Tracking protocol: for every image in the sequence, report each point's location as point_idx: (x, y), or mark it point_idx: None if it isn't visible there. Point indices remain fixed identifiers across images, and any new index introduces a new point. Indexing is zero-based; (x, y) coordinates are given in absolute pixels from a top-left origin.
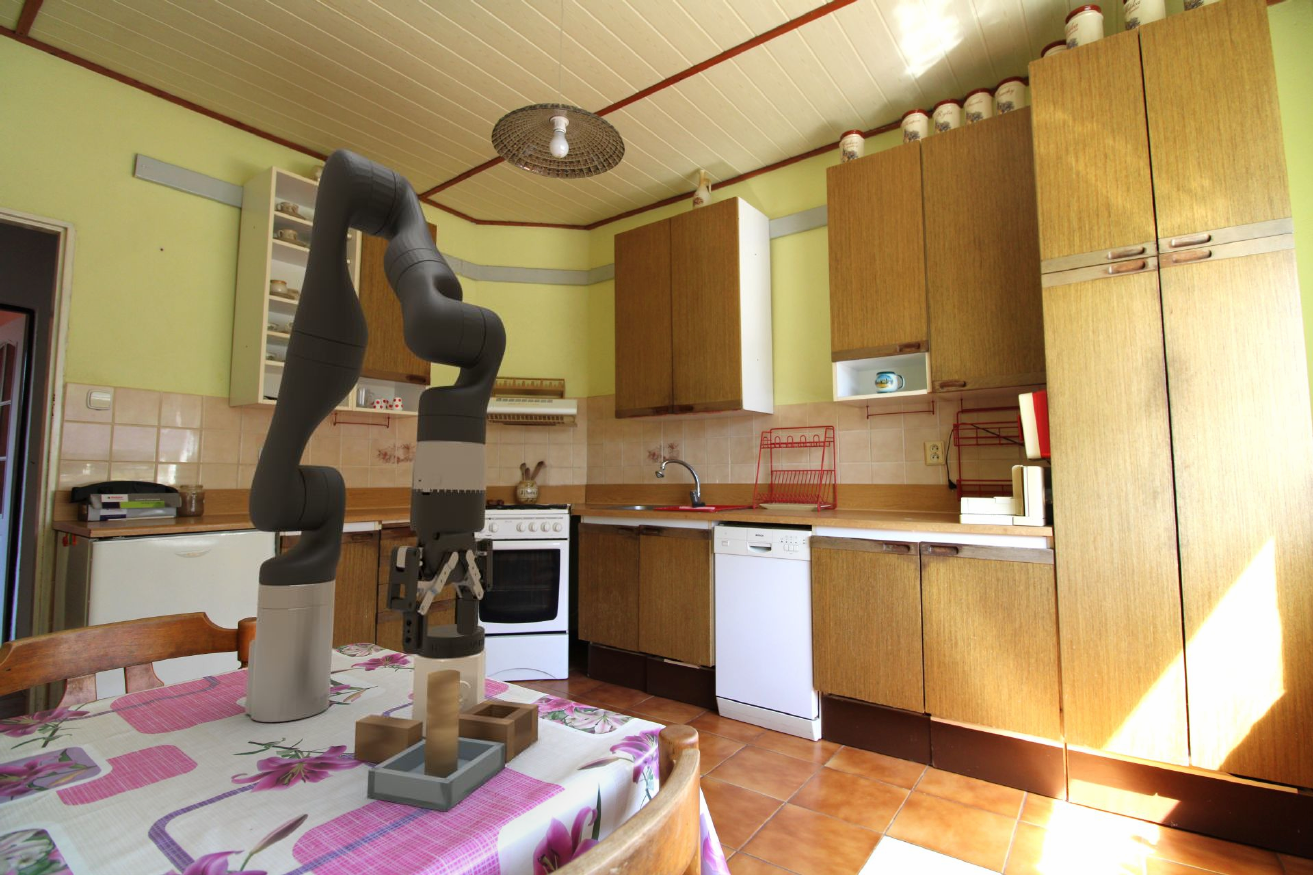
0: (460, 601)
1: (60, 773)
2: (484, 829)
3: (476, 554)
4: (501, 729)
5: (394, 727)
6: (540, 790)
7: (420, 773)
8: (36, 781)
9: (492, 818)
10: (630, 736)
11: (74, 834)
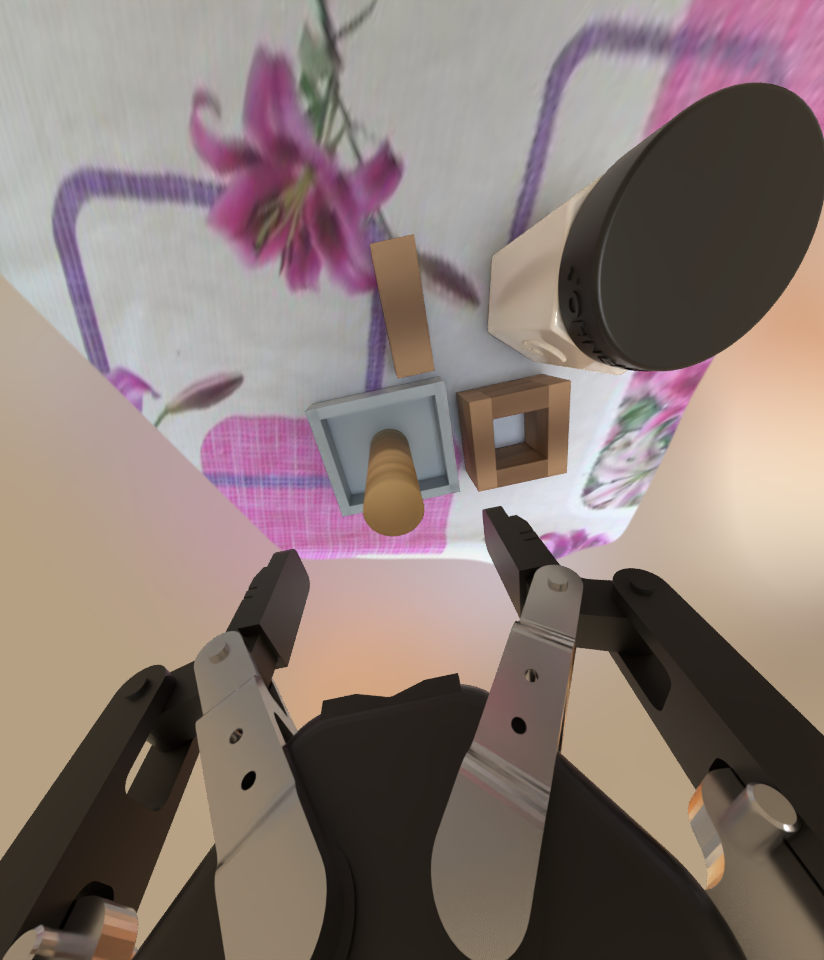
0: (516, 575)
1: None
2: (345, 547)
3: (697, 837)
4: (475, 480)
5: (391, 348)
6: (427, 539)
7: (380, 420)
8: None
9: (363, 540)
10: (583, 533)
11: None
